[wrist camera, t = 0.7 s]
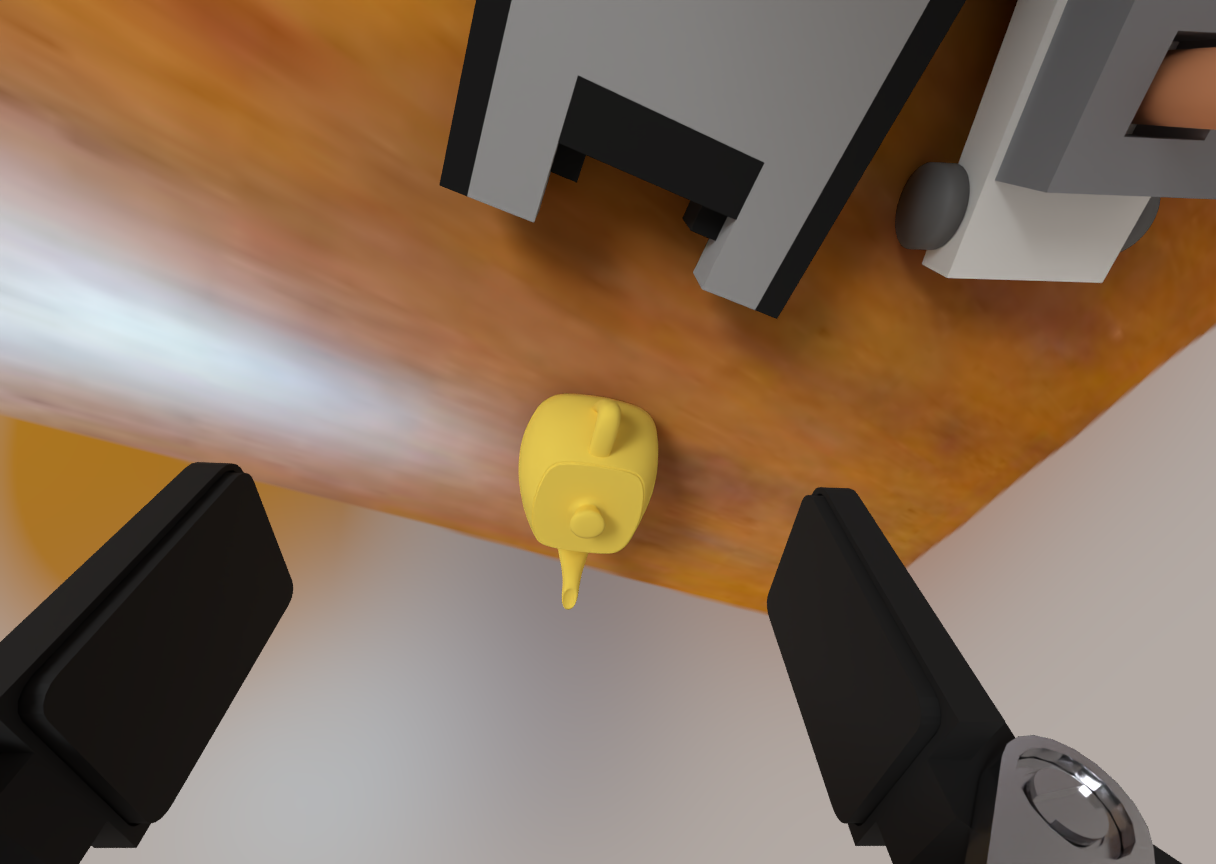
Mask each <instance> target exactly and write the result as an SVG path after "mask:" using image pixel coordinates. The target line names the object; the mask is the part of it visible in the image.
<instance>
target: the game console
mask: <svg viewBox="0 0 1216 864" xmlns="http://www.w3.org/2000/svg"><path fill="white" fill-rule="evenodd" d="M965 1H966V0H476V4H475V9H474V14H473V19H472V24H471V29H470V34H469V39H468V44H467V49H466V54H465V59H464V64H463V69H462V74H461V79H460V84H459V90H458V95H457V100H456V105H455V110H454V115H453V120H452V125H451V130H450V135H449V140H448V145H447V150H446V155H445V160H444V165H443V170H442V175H441V180H440V186H443V187H445V188H448V189H450V190H453V191H455V192H458V193H460V194H463V195H465V196H468V197H470V198H473V199H475V200H478V201H480V202H483V203H485V204H488V205H491V206H493V207H496V208H498V209H501V210H503V211H506V212H508V213H511V214H513V215H516V216H518V217H521V218H523V219H526V220H528V221H531V222H534V221H535V219H536V217H537V214H538V212H539V209H540V206H541V203H542V199H543V196H544V193H545V189H546V186H547V183H548V179H549V176H550V173H551V172H553V173H555V174H558V175H560V176H562V177H565V178H567V179H570V180H572V181H574V182H577V181H578V178H579V175H580V172H581V168H582V165H583V162H584V159H585V156H586V155H588V156H590V157H592V158H594V159H597V160H599V161H601V162H604V163H606V164H608V165H610V166H613V167H615V168H617V169H620V170H622V171H624V172H627V173H629V174H631V175H633V176H636V177H638V178H640V179H643V180H645V181H647V182H650V183H652V184H654V185H656V186H659V187H661V188H663V189H666V190H668V191H670V192H673V193H675V194H677V195H679V196H682V197H684V198H686V199H689V200H691V201H690V203H689V205H688V207H687V210H686V212H685V214H684V216H683V220H684V221H685V223H686V224H687V226H688V227H689V229H690V230H691V231H693V232H695V233H698V234H700V235H703V236H705V237H707V238H709V240H708V242H707V244H706V246H705V249H704V251H703V253H702V255H701V257H700V259H699V261H698V263H697V265H696V267H695V269H694V272H693V273H694V275H695V277H696V279H697V281H698V283H699V285H700V286H701V288H702V289H703V290H705V291H708V292H710V293H713V294H716V295H718V296H721V297H723V298H726V299H728V300H731V301H733V302H736V303H738V304H741V305H743V306H746V307H748V308H751V309H753V310H756V311H758V312H761V313H764V314H766V315H769V316H771V317H774V318H776V319H777V318H778V316H779V315H780V313H781V311H782V310H783V308H784V306H785V305H786V303H787V301H788V300H789V298H790V296H791V294H792V293H793V291H794V289H795V288H796V286H797V284H798V283H799V281H800V279H801V278H802V276H803V274H804V273H805V271H806V269H807V268H808V266H809V264H810V262H811V261H812V259H813V257H814V256H815V254H816V252H817V251H818V249H819V247H820V246H821V244H822V242H823V241H824V239H825V237H826V235H827V234H828V232H829V230H830V229H831V227H832V225H833V224H834V222H835V220H836V219H837V217H838V215H839V214H840V212H841V210H842V209H843V207H844V205H845V203H846V202H847V200H848V198H849V197H850V195H851V193H852V192H853V190H854V188H855V187H856V185H857V183H858V182H859V180H860V178H861V177H862V175H863V173H864V171H865V170H866V168H867V166H868V165H869V163H870V161H871V160H872V158H873V156H874V155H875V153H876V151H877V150H878V148H879V146H880V145H881V143H882V141H883V139H884V138H885V136H886V134H887V133H888V131H889V129H890V128H891V126H892V124H893V123H894V121H895V119H896V118H897V116H898V114H899V113H900V111H901V109H902V107H903V106H904V104H905V102H906V101H907V99H908V97H909V96H910V94H911V92H912V91H913V89H914V87H915V86H916V84H917V82H918V80H919V79H920V77H921V75H922V74H923V72H924V70H925V69H926V67H927V65H928V64H929V62H930V60H931V59H932V57H933V55H934V54H935V52H936V50H937V48H938V47H939V45H940V43H941V42H942V40H943V38H944V37H945V35H946V33H947V32H948V30H949V28H950V27H951V25H952V23H953V22H954V20H955V18H956V16H957V15H958V13H959V11H960V10H961V8H962V6H963V5H964V3H965Z"/></svg>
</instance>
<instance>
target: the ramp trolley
mask: <svg viewBox="0 0 1216 864" xmlns="http://www.w3.org/2000/svg"><path fill="white" fill-rule="evenodd" d="M1209 47H1216V0H1018V1H1017V4H1016V7H1015V10H1014V12H1013V15H1012V18H1011V21H1010V23H1009V26H1008V29H1007V31H1006V34H1005V37H1004V40H1003V42H1002V45H1001V48H1000V51H999V53H998V56H997V59H996V62H995V64H994V67H993V70H992V73H991V75H990V78H989V81H988V84H987V86H986V89H985V92H984V94H983V97H982V100H981V103H980V105H979V108H978V111H977V114H976V116H975V119H974V122H973V125H972V127H971V130H970V133H969V136H968V138H967V141H966V144H965V147H964V149H963V152H962V155H961V157H960V160H959V163H958V164H957V163H939V162H929V163H926V164H924V165H922V166H920V167H919V168H918V169H917V170H916V171H915V172H914V173H913V174H912V176H911V177H910V179H909V180H908V182H907V183H906V185H905V187H904V189H903V191H902V194H901V197H900V199H899V203H898V207H897V211H896V219H895V228H896V235H897V238H898V241H899V243H900V244H901V245H902V246H903V247H904V248H906V249H920V250H927V251H926V253H925V256H924V259H923V262H922V265H924V266H926V267H928V268H930V269H932V270H933V271H935V272H937V273H939V274H941V275H943V276H944V277H946V278H965V279H997V280H1029V281H1061V282H1093V283H1103V281H1104V279H1105V277H1106V275H1107V274H1108V272H1109V270H1110V268H1111V267H1112V265H1113V263H1114V261H1115V259H1116V258H1117V256H1118V254H1119V252H1122V251H1124V250H1126V249H1127V248H1129V247H1130V246H1132V245H1133V244H1135V243H1136V242H1137V241H1138V240H1139V239H1140V238H1141V237H1142V236H1143V235H1144V234H1145V233H1146V231H1147V230H1148V229H1149V227H1150V226H1151V224H1152V223H1153V221H1154V219H1155V217H1156V214H1157V212H1158V208H1159V204H1160V197H1173V198H1198V199H1216V130H1211V129H1197V128H1183V127H1169V126H1155V125H1141V124H1131V122H1132V120H1133V118H1134V116H1135V114H1136V112H1137V110H1138V108H1139V106H1140V104H1141V102H1142V100H1143V99H1144V97H1145V95H1146V93H1147V91H1148V89H1149V87H1150V85H1151V83H1152V81H1153V79H1154V77H1155V75H1156V73H1157V71H1158V69H1159V67H1160V65H1161V63H1162V61H1163V59H1164V57H1165V55H1166V53H1167V51H1168V50H1176V49H1193V48H1209Z"/></svg>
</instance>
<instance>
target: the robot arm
mask: <svg viewBox="0 0 1216 864" xmlns="http://www.w3.org/2000/svg"><path fill="white" fill-rule="evenodd" d="M292 594H293V583H292V579H291V577H290V574H289V572H288V569H287V566H286V564H285V561H284V559H283V556H282V553H281V551H280V548H279V546H278V543H277V540H276V538H275V536H274V533H273V530H272V527H271V525H270V522H269V520H268V517H267V515H266V512H265V509H264V507H263V504H262V501H261V499H260V496H259V494H258V491H257V488H256V486H255V483H254V481H253V479H252V477H251V476H250V475H249V474H247V473H244V472H243V471H242V469H241V468H240V467H239V466H238V465H236V464H230V463H206V462H196V463H192V464H190V465H189V466H187V467H186V468H185V469H184V470H183V471H182V472H181V473H180V474H178V475H177V476H176V477H175V478H174V479H173V480H172V481H171V482H170V483H169V484H168V485H167V486H166V487H165V488H164V489H163V490H161V491H160V492H159V493H158V494H157V495H156V496H155V497H154V498H153V499H152V500H151V501H150V502H149V503H148V504H147V505H145V506H144V507H143V508H142V509H141V510H140V511H139V512H138V513H137V514H136V515H135V516H134V517H133V518H132V519H131V520H130V521H128V522H127V523H126V524H125V525H124V526H123V527H122V528H121V529H120V530H119V531H118V532H117V533H116V534H115V535H114V536H113V537H111V538H110V539H109V540H108V541H107V542H106V543H105V544H104V545H103V546H102V547H101V548H100V549H99V550H98V551H97V552H96V553H94V554H93V555H92V556H91V557H90V558H89V559H88V560H87V561H86V562H85V563H84V564H83V565H82V566H81V567H80V568H78V569H77V570H76V571H75V572H74V573H73V574H72V575H71V576H70V577H69V578H68V579H67V580H66V581H65V582H64V583H63V584H62V585H60V586H59V587H58V589H56V590H55V591H54V592H53V593H52V594H51V595H50V596H49V597H48V598H47V599H46V600H44V601H43V602H42V603H41V604H40V605H39V606H38V607H37V608H36V609H35V610H34V611H33V612H32V613H31V614H30V615H29V616H28V617H26V618H25V619H24V620H23V621H22V622H21V623H20V624H19V625H18V626H17V627H16V628H15V629H14V630H13V631H12V632H11V633H10V634H8V635H7V636H6V637H5V638H4V639H3V640H2V641H1V642H0V864H79V863H80V861H81V860H82V858H83V857H84V855H85V854H86V852H87V851H88V849H89V848H90V846H93V847H94V848H136V847H137V846H138V844H139V843H140V841H141V839H142V837H143V836H144V834H145V833H146V831H147V829H148V828H149V826H150V824H151V823H154V822H156V821H158V820H159V819H161V818H162V817H163V816H164V814H166V812H167V811H168V810H169V808H170V807H171V805H172V803H173V802H174V800H175V799H176V796H177V795H178V793H179V792H180V790H181V788H182V787H183V785H184V783H185V781H186V780H187V778H188V776H189V775H190V773H191V771H192V769H193V768H194V766H195V764H196V762H197V761H198V759H199V757H200V756H201V754H202V752H203V750H204V749H205V747H206V745H207V744H208V742H209V740H210V739H211V737H212V735H213V733H214V732H215V730H216V728H217V727H218V725H219V723H220V721H221V720H222V718H223V716H224V715H225V713H226V711H227V709H228V708H229V706H230V704H231V703H232V701H233V699H234V697H235V696H236V694H237V692H238V691H239V689H240V687H241V686H242V683H243V682H244V680H245V679H246V677H247V675H248V674H249V672H250V670H251V668H252V667H253V665H254V663H255V661H256V660H257V658H258V656H259V655H260V653H261V651H262V649H263V648H264V646H265V644H266V643H267V641H268V639H269V637H270V636H271V634H272V632H273V631H274V629H275V627H276V625H277V624H278V622H279V620H280V618H281V617H282V615H283V614H284V612H285V610H286V608H287V607H288V605H289V603H290V601H291V598H292ZM767 610H768V615H769V618H770V621H771V624H772V627H773V630H774V633H775V636H776V639H777V642H778V645H779V648H780V651H781V654H782V657H783V660H784V663H785V666H786V669H787V672H788V675H789V678H790V681H791V684H792V687H793V690H794V693H795V696H796V699H797V702H798V705H799V708H800V711H801V714H802V717H803V720H804V723H805V726H806V729H807V732H808V735H809V738H810V741H811V744H812V747H813V750H814V753H815V755H816V759H817V762H818V765H819V768H820V771H821V774H822V777H823V780H824V783H825V786H826V789H827V792H828V795H829V798H830V801H831V804H832V807H833V810H834V812H835V814H836V816H837V818H838V819H839V820H840V821H841V822H842V823H848V825H849V829H850V831H851V834H852V837H853V840H854V843H855V846H886V847H887V850H888V853H889V855H890V857H891V860H892V863H893V864H1182V863H1180V862H1179V861H1177V860H1176V859H1174V858H1173V857H1171V856H1170V855H1168V854H1167V853H1165V852H1164V851H1162V850H1161V849H1159V848H1158V847H1156V846H1155V845H1153V844H1152V840H1151V837H1150V833H1149V829H1148V826H1147V825H1146V823H1145V821H1144V819H1143V818H1142V816H1141V814H1140V812H1139V810H1138V809H1137V807H1136V805H1135V804H1134V802H1133V801H1132V800H1131V799H1130V798H1129V796H1128V795H1127V794H1126V793H1125V792H1124V790H1123V789H1122V788H1121V787H1120V786H1119V784H1118V783H1117V782H1116V781H1115V780H1114V779H1112V778H1111V777H1110V776H1109V775H1108V774H1107V773H1106V772H1105V771H1104V770H1102V769H1101V768H1100V767H1099V766H1098V765H1097V764H1095V763H1094V762H1093V761H1091V760H1090V759H1088V758H1087V757H1085V756H1084V755H1082V754H1080V753H1079V752H1078V751H1076V750H1075V749H1073V748H1070V747H1068V746H1066V745H1064V744H1062V743H1060V742H1057V741H1055V740H1053V739H1048V738H1044V737H1040V736H1035V735H1030V736H1018V737H1017V738H1015V737H1014V735H1013V734H1012V732H1011V730H1010V729H1009V727H1008V726H1007V724H1006V723H1005V720H1004V719H1003V717H1002V716H1001V714H1000V713H999V711H998V710H997V708H996V707H995V705H994V703H993V702H992V700H991V699H990V698H989V696H988V694H987V693H986V691H985V690H984V688H983V687H982V685H981V684H980V682H979V680H978V679H977V677H976V676H975V674H974V673H973V671H972V670H971V668H970V667H969V665H968V663H967V662H966V661H965V659H964V657H963V656H962V654H961V653H960V651H959V650H958V648H957V647H956V645H955V643H954V642H953V640H952V639H951V637H950V636H949V634H948V633H947V631H946V630H945V628H944V627H943V625H942V623H941V622H940V620H939V619H938V617H937V616H936V614H935V613H934V611H933V610H932V608H931V607H930V605H929V603H928V602H927V600H926V599H925V597H924V596H923V594H922V593H921V591H920V590H919V588H918V587H917V585H916V583H915V582H914V580H913V579H912V577H911V576H910V574H909V573H908V571H907V570H906V568H905V567H904V565H903V563H902V562H901V560H900V559H899V557H898V556H897V554H896V553H895V551H894V550H893V548H892V547H891V545H890V543H889V542H888V540H887V539H886V537H885V536H884V534H883V533H882V531H881V530H880V528H879V527H878V525H877V523H876V522H875V520H874V519H873V517H872V516H871V514H870V513H869V511H868V510H867V508H866V507H865V505H864V503H863V502H862V500H861V499H860V497H859V496H858V494H857V493H856V492H855V491H854V490H852V489H849V488H824V487H820V488H816V489H815V490H814V492H813V494H812V495H807V496H805V497H804V498H803V500H802V503H801V505H800V508H799V511H798V514H797V516H796V519H795V522H794V525H793V527H792V530H791V533H790V536H789V538H788V541H787V544H786V547H785V549H784V552H783V555H782V558H781V561H780V563H779V566H778V569H777V572H776V574H775V577H774V580H773V583H772V585H771V588H770V591H769V594H768V598H767Z"/></svg>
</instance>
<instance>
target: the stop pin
mask: <svg viewBox="0 0 1216 864" xmlns="http://www.w3.org/2000/svg"><path fill="white" fill-rule="evenodd" d="M1131 124H1141V125H1155V126H1169V127H1183V128H1197V129H1211V130H1216V47H1209V48H1193V49H1176V50H1168V51H1167V53H1166V55H1165V57H1164V59H1163V61H1162V63H1161V65H1160V67H1159V69H1158V71H1157V73H1156V75H1155V77H1154V79H1153V81H1152V83H1151V85H1150V87H1149V89H1148V91H1147V93H1146V95H1145V97H1144V99H1143V100H1142V102H1141V104H1140V106H1139V108H1138V110H1137V112H1136V114H1135V116H1134V118H1133V120H1132V122H1131Z"/></svg>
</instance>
